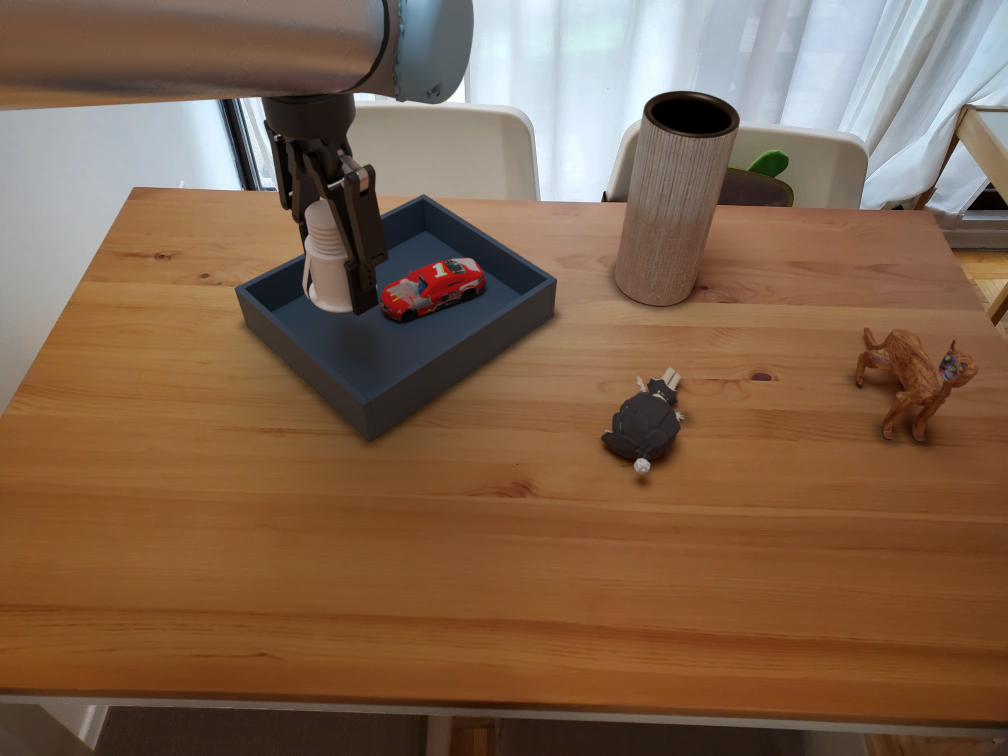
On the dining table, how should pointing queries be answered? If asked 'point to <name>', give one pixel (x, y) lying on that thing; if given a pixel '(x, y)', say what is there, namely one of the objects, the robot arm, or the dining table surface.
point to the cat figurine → (915, 375)
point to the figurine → (646, 422)
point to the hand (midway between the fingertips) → (343, 290)
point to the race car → (432, 288)
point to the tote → (398, 344)
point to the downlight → (325, 261)
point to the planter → (673, 194)
